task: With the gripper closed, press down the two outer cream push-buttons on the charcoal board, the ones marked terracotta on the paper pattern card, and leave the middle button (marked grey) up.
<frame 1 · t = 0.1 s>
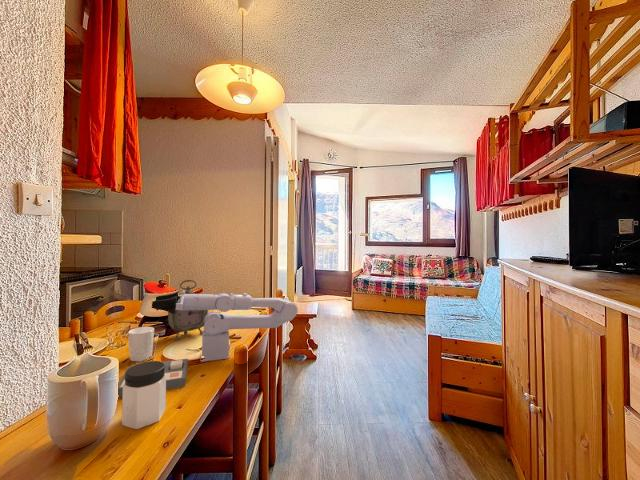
hand: (153, 302, 93), 22 cm above the table, tool horizontal, fingers open, 7 cm apart
tabletop clock: (187, 336, 122), on the table
button 1: (136, 371, 83), point 3 cm above the table, slide at 0.0 cm
middle button: (156, 368, 85), point 3 cm above the table, slide at 0.0 cm
button board: (155, 380, 83), on the table
button 2: (176, 365, 87), point 3 cm above the table, slide at 0.0 cm
jar: (144, 418, 66), on the table
white cup: (141, 358, 99), on the table
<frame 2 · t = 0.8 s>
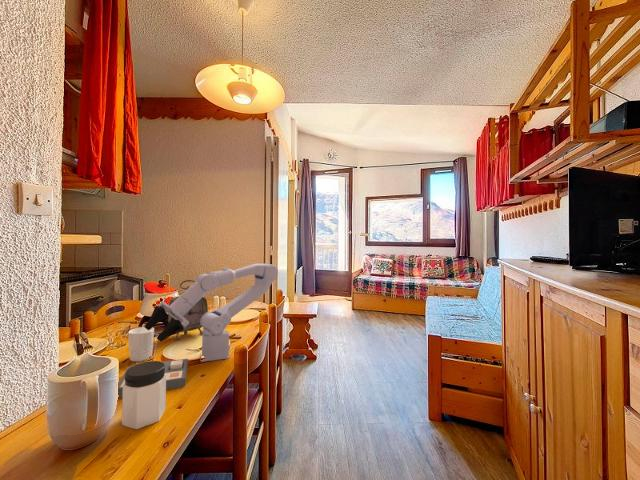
hand: (152, 334, 87), 13 cm above the table, tool tilted 50°, fingers open, 7 cm apart
nothing on the table moved.
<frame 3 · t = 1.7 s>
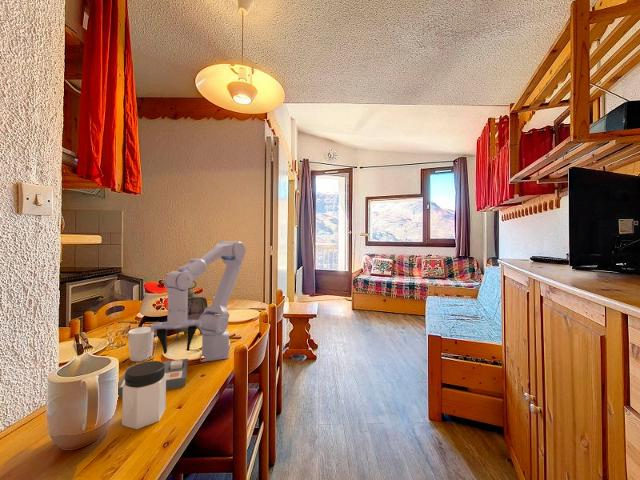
hand: (176, 351, 87), 7 cm above the table, tool pointing down, fingers open, 6 cm apart
nothing on the table moved.
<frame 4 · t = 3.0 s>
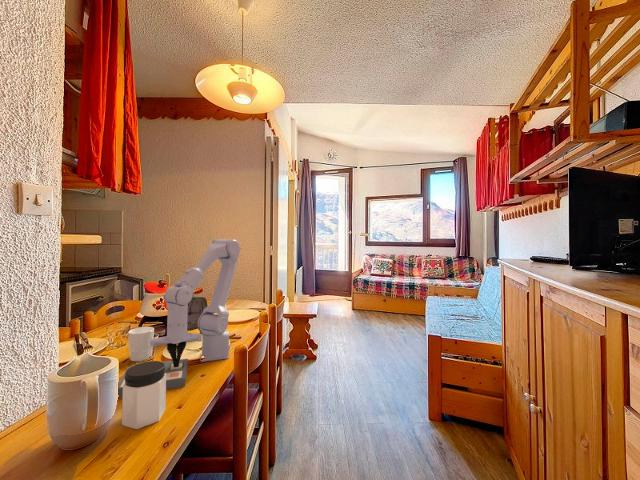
hand: (176, 365, 87), 3 cm above the table, tool pointing down, fingers closed, pressing on button 2
button 2: (176, 369, 87), point 2 cm above the table, slide at 1.0 cm, touching gripper
everything else where it was.
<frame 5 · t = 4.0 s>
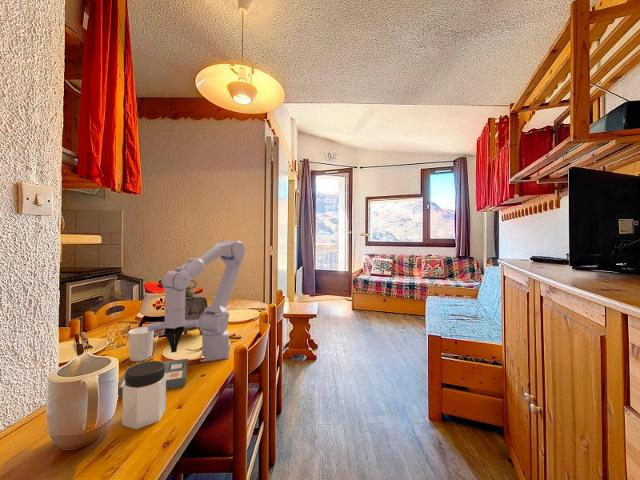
hand: (174, 351, 87), 7 cm above the table, tool pointing down, fingers closed
button 2: (176, 369, 87), point 1 cm above the table, slide at 1.2 cm
everything else where it was.
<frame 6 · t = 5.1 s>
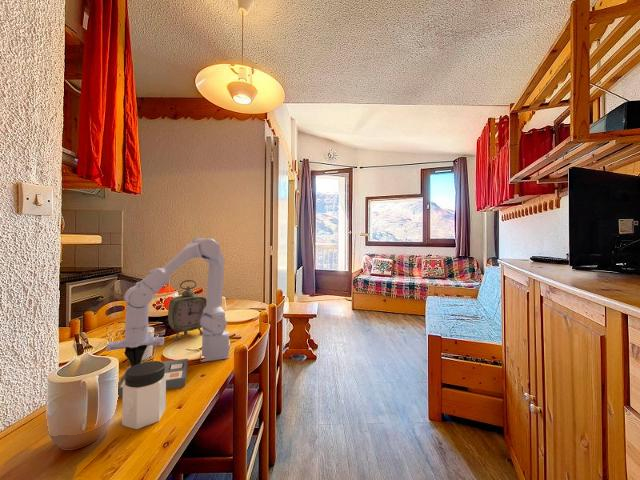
hand: (135, 370, 83), 3 cm above the table, tool pointing down, fingers closed, pressing on button 1
button 1: (136, 374, 83), point 2 cm above the table, slide at 0.7 cm, touching gripper
everything else where it was.
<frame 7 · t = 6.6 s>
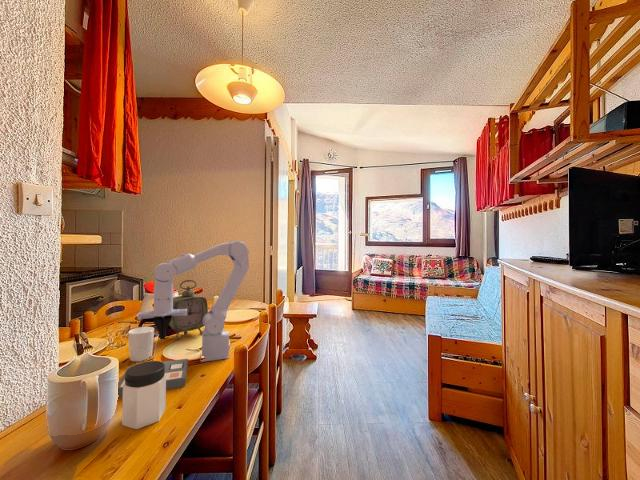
hand: (162, 338, 93), 9 cm above the table, tool pointing down, fingers closed
button 1: (135, 375, 83), point 1 cm above the table, slide at 1.2 cm
everything else where it was.
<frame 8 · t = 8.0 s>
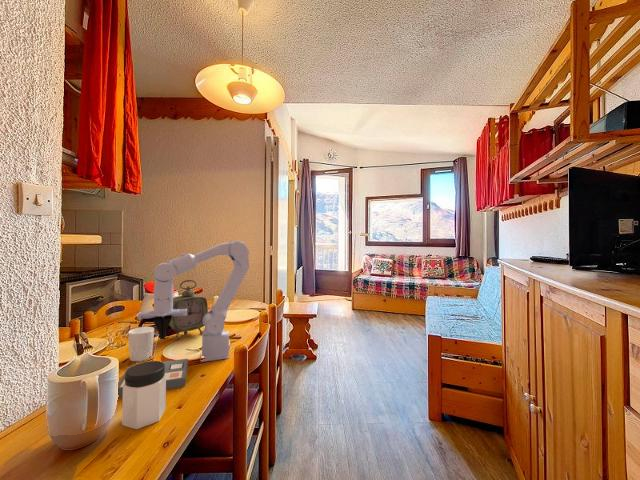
hand: (162, 338, 93), 9 cm above the table, tool pointing down, fingers closed
nothing on the table moved.
at the end: button 2 slide at 1.2 cm; button 1 slide at 1.2 cm; middle button slide at 0.0 cm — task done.
